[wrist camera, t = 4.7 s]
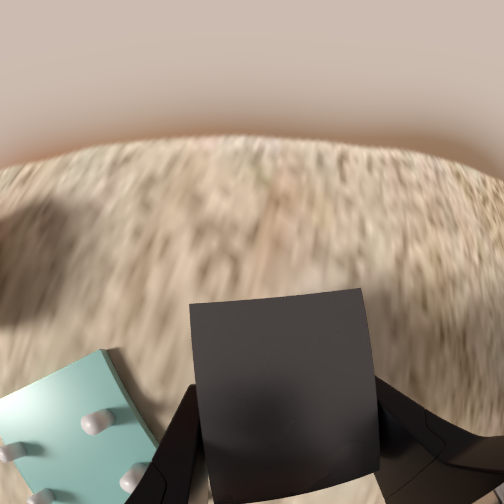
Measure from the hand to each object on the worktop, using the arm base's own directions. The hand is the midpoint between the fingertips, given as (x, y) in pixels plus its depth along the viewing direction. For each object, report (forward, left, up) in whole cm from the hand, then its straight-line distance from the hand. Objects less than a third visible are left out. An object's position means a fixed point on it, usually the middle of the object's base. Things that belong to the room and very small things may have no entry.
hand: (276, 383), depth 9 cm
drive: (0, 0, -8) cm, 8 cm away
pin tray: (+1, +14, -8) cm, 16 cm away
